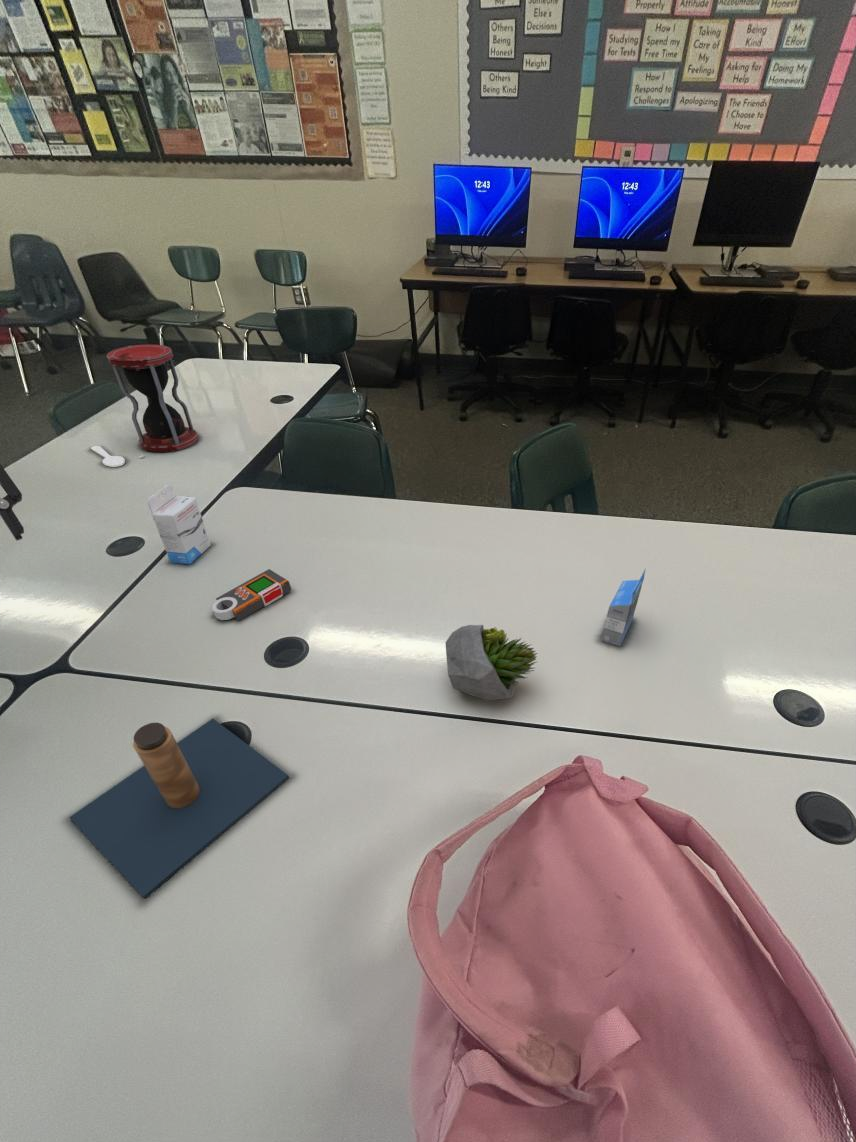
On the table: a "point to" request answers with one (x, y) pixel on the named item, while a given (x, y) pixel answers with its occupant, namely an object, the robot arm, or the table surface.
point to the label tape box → (622, 611)
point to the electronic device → (251, 596)
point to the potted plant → (486, 662)
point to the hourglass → (153, 397)
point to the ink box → (179, 525)
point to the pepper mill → (166, 764)
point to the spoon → (109, 457)
